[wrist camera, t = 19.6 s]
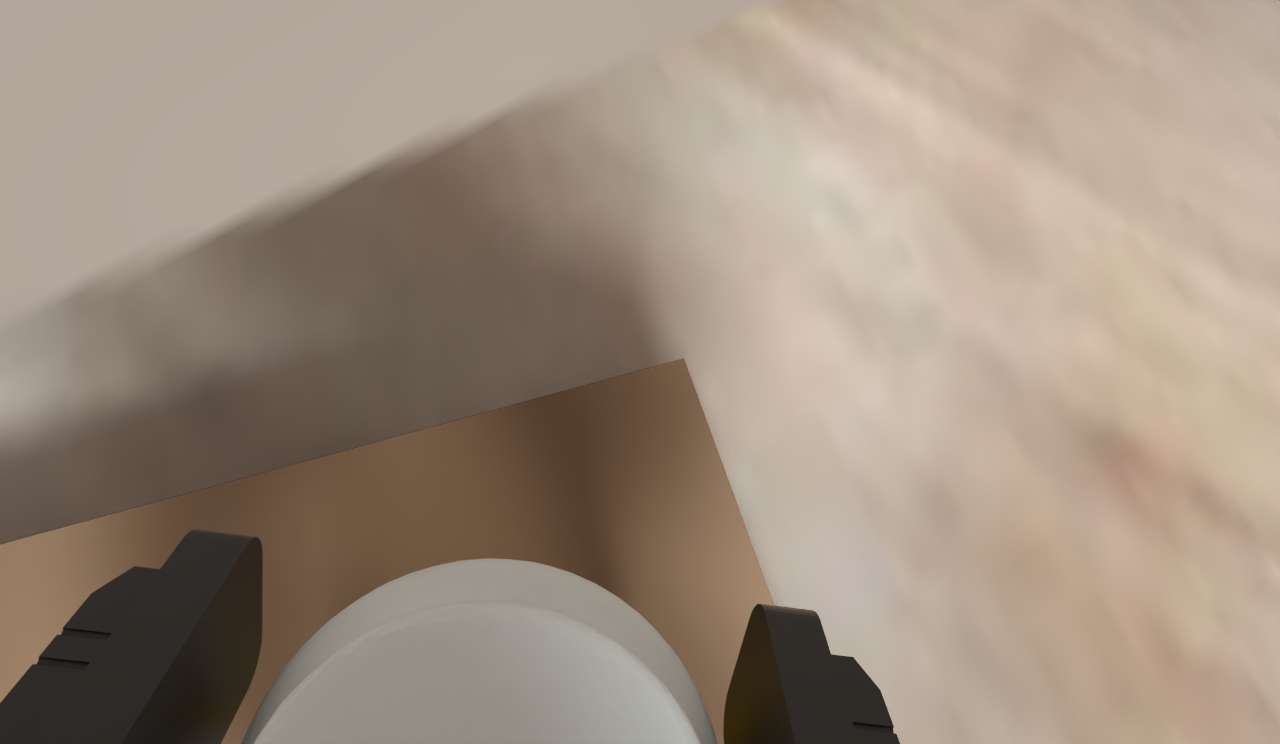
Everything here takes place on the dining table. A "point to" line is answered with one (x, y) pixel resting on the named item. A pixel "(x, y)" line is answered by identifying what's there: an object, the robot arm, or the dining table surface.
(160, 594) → the robot arm
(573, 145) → the dining table surface
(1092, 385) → the dining table surface
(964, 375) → the dining table surface
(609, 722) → the supplement bottle
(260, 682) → the board
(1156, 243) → the dining table surface
